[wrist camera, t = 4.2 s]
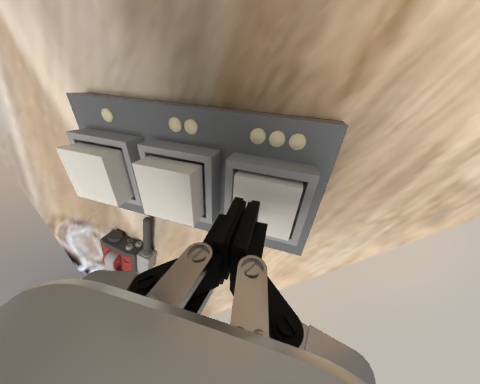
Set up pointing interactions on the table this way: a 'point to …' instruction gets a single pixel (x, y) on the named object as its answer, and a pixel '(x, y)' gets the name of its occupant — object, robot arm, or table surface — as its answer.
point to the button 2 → (170, 189)
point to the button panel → (216, 149)
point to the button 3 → (270, 199)
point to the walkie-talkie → (128, 251)
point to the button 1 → (97, 172)
